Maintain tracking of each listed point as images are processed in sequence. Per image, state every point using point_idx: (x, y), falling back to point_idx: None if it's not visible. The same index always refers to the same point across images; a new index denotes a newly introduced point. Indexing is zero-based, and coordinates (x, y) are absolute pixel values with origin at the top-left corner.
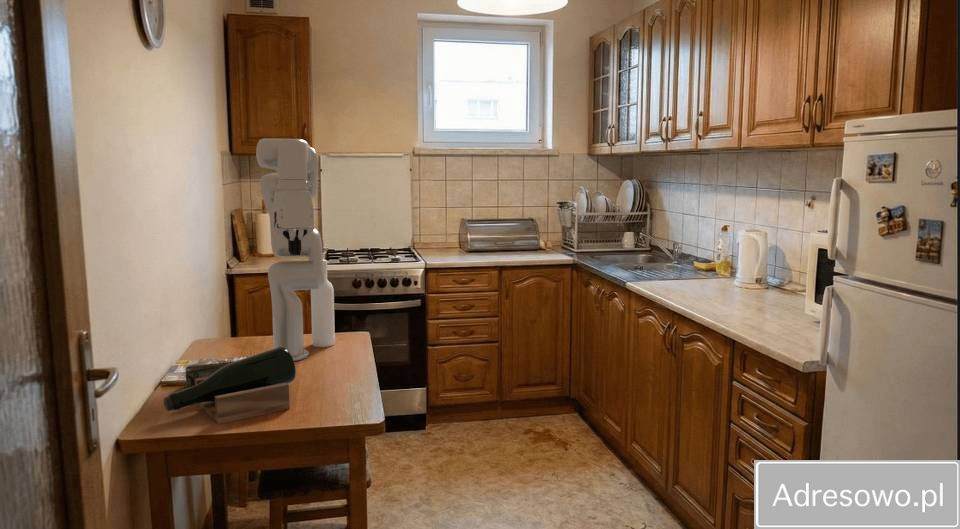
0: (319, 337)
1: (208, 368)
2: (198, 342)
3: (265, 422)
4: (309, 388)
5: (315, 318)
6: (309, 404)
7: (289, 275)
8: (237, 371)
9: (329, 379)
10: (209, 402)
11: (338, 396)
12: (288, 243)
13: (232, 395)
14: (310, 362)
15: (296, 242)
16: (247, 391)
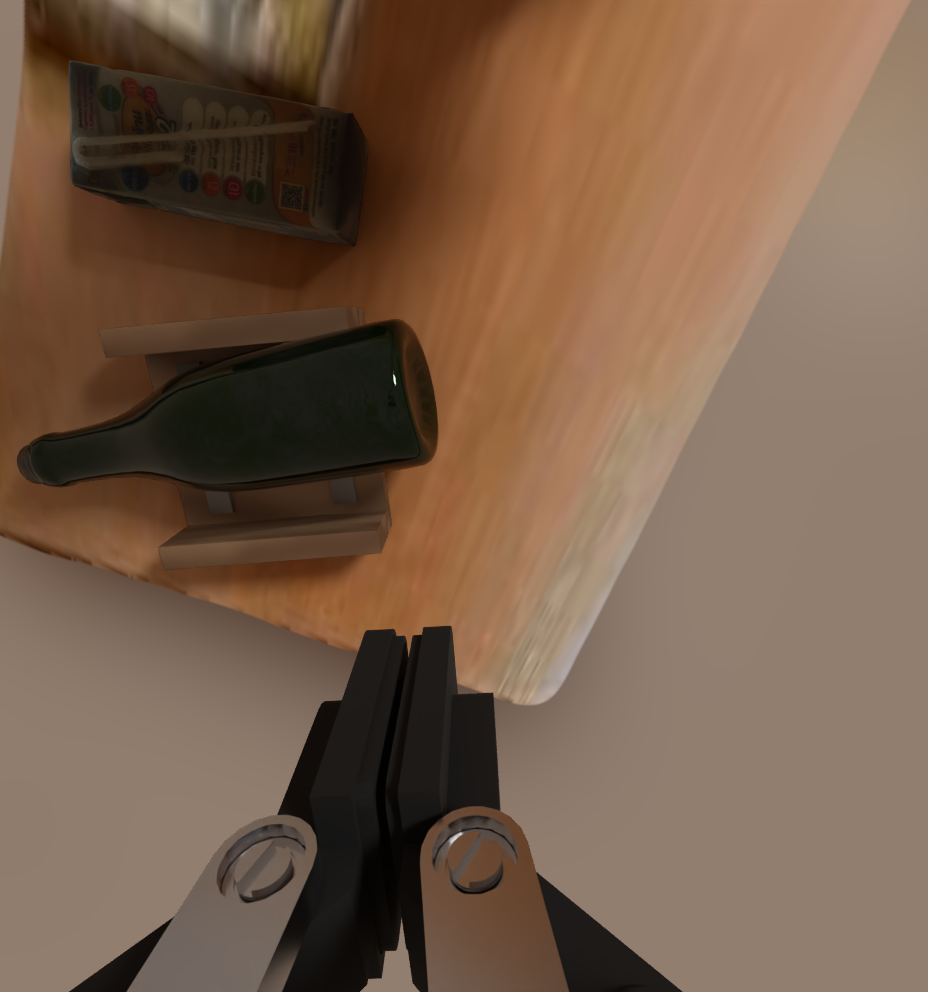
0: None
1: (155, 166)
2: None
3: (312, 585)
4: (501, 378)
5: None
6: (451, 519)
7: None
8: (215, 483)
9: (597, 316)
10: None
11: (548, 498)
12: (288, 800)
13: (207, 565)
14: (633, 22)
15: (398, 932)
16: (253, 552)
